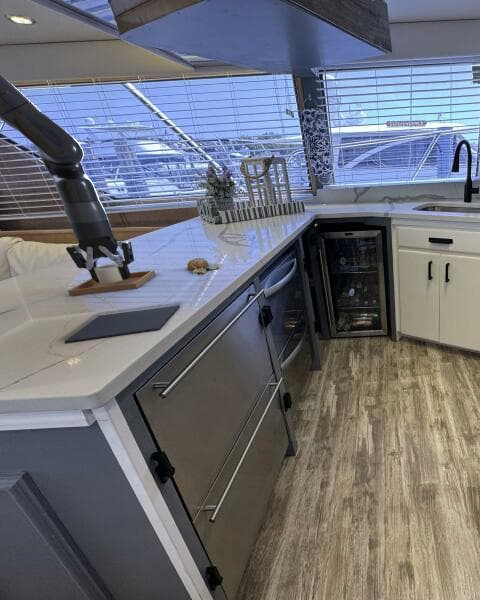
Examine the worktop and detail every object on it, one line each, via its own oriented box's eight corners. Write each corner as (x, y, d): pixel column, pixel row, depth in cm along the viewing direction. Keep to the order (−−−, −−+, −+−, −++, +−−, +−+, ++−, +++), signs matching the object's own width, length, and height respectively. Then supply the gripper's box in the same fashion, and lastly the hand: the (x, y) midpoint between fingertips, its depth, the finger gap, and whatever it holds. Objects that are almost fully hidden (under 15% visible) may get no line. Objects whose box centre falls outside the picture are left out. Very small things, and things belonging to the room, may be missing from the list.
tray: (71, 298, 84) (67, 290, 83) (97, 283, 94) (94, 276, 94) (138, 290, 87) (135, 283, 86) (156, 276, 98) (154, 270, 97)
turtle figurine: (198, 275, 97) (195, 263, 96) (180, 273, 100) (177, 261, 99) (222, 267, 104) (219, 256, 103) (204, 265, 107) (201, 254, 106)
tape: (95, 284, 87) (89, 270, 85) (106, 278, 92) (101, 264, 90) (120, 282, 88) (114, 268, 87) (130, 275, 93) (125, 262, 92)
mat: (64, 343, 61) (63, 341, 61) (100, 316, 72) (99, 315, 72) (159, 329, 65) (158, 328, 65) (180, 306, 76) (179, 305, 75)
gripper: (44, 223, 78) (74, 288, 85) (113, 219, 82) (136, 281, 88) (64, 219, 85) (90, 279, 92) (127, 215, 88) (148, 273, 95)
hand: (113, 280), depth 90 cm, fingers closed on tape, 6 cm apart
